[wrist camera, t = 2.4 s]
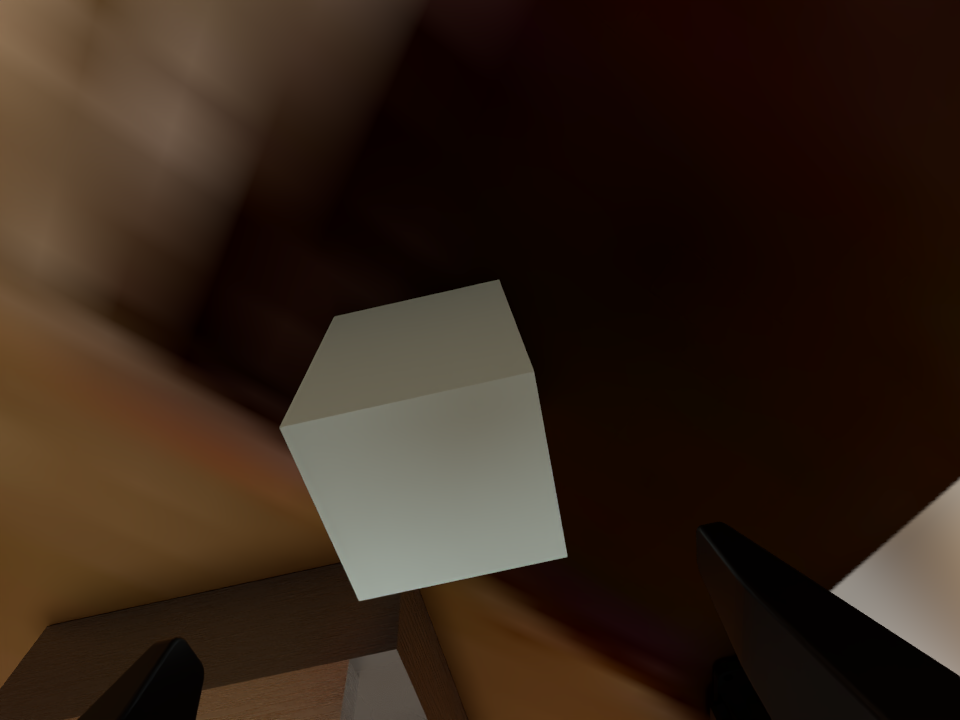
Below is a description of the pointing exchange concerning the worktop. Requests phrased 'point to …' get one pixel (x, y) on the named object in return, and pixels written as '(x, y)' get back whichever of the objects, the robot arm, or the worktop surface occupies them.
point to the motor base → (255, 654)
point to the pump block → (426, 443)
